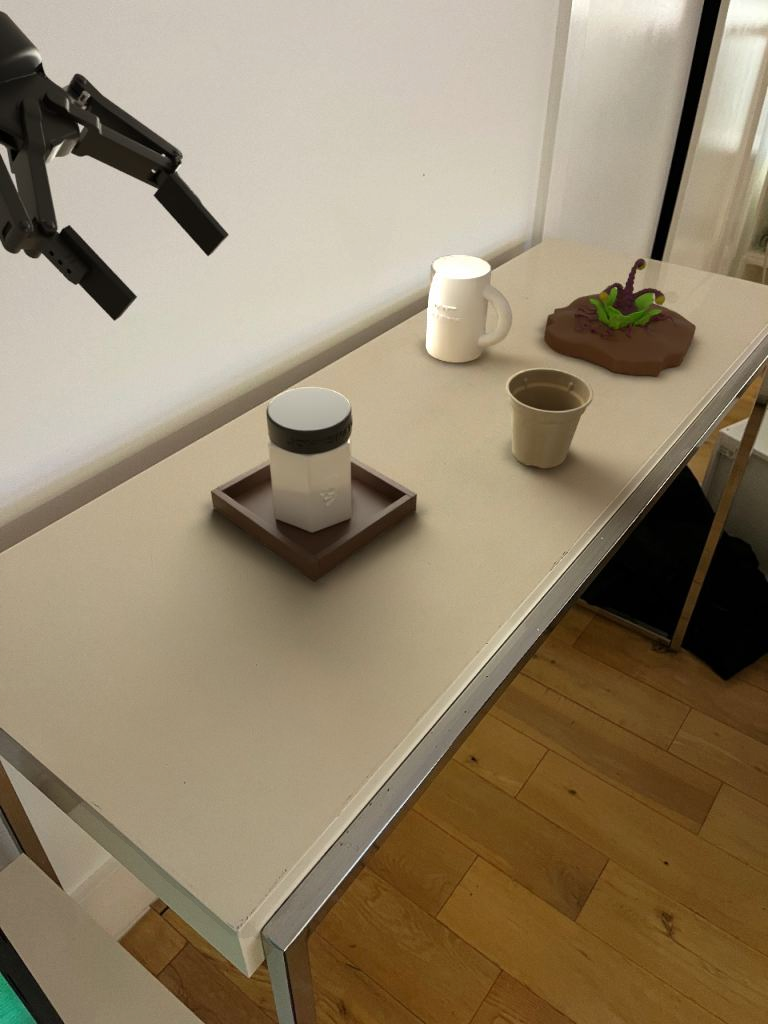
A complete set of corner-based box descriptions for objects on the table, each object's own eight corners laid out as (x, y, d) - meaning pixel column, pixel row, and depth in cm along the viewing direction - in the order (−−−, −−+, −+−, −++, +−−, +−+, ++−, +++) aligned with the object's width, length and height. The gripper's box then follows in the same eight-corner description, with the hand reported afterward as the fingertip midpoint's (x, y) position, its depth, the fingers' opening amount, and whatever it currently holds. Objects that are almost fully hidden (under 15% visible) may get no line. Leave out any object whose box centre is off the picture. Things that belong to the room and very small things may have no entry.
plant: (712, 336, 113) (735, 261, 106) (655, 388, 102) (677, 308, 94) (589, 297, 123) (603, 226, 116) (524, 341, 111) (535, 265, 104)
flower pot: (481, 455, 90) (488, 390, 84) (525, 421, 95) (535, 358, 90) (551, 488, 85) (564, 422, 79) (594, 451, 91) (609, 387, 85)
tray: (314, 581, 74) (313, 564, 72) (213, 508, 82) (210, 490, 80) (416, 511, 82) (417, 493, 80) (315, 450, 90) (314, 434, 88)
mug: (492, 377, 103) (503, 291, 96) (414, 353, 108) (418, 270, 100) (517, 352, 109) (529, 269, 101) (442, 330, 113) (448, 250, 106)
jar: (293, 543, 77) (285, 443, 69) (258, 498, 82) (247, 401, 74) (371, 513, 81) (371, 415, 73) (333, 472, 86) (330, 377, 78)
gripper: (55, 55, 68) (227, 248, 74) (-199, 119, 50) (54, 369, 56) (93, -15, 63) (273, 198, 69) (-173, 28, 45) (101, 312, 51)
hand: (176, 275), depth 62 cm, fingers open, 13 cm apart
